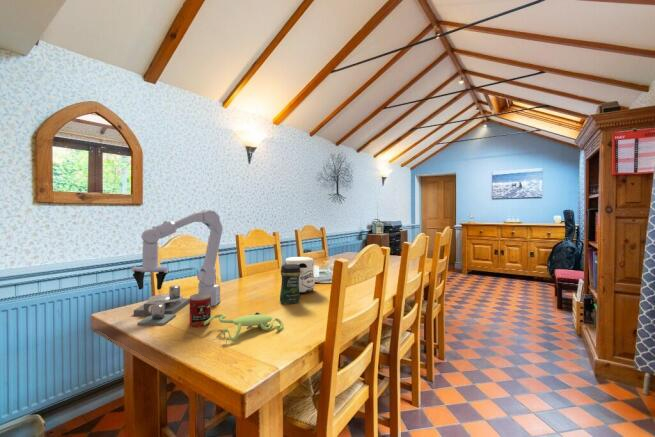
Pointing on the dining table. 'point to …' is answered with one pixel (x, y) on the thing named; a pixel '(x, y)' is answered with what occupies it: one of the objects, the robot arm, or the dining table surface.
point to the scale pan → (162, 298)
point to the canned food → (200, 309)
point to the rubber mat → (163, 321)
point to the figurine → (247, 322)
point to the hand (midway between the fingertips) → (150, 289)
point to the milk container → (304, 273)
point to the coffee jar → (290, 284)
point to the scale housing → (169, 307)
